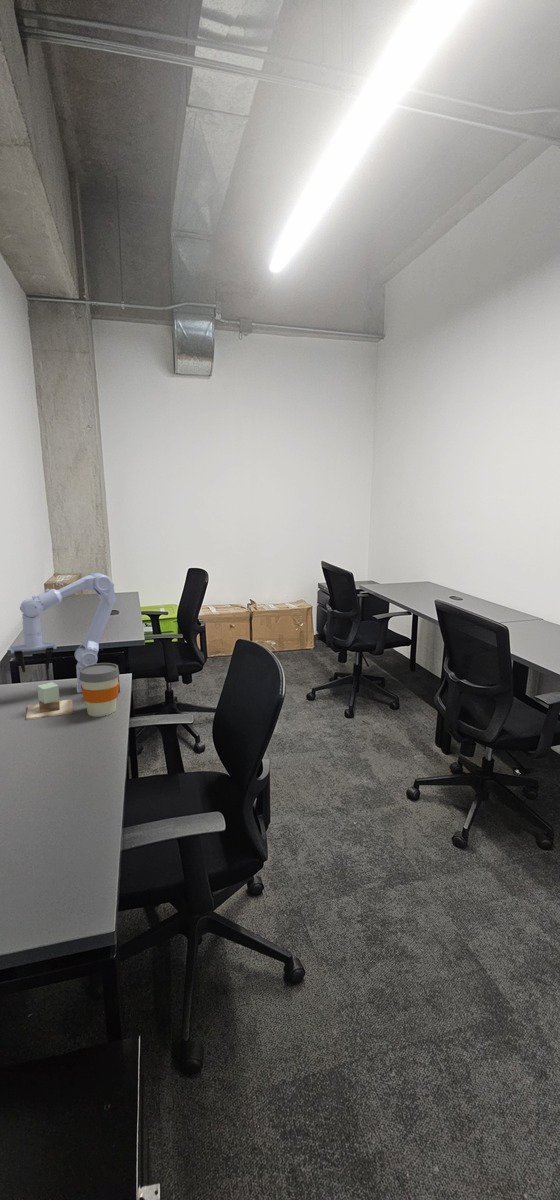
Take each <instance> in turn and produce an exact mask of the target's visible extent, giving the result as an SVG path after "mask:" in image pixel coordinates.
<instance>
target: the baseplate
mask: <svg viewBox="0 0 560 1200" xmlns="http://www.w3.org/2000/svg"><path fill="white" fill-rule="evenodd" d="M38 701H39V703H34V704H28V705H27V710H26V716H25V721H29V720H35V719H43V718H50V717H57V716H62V715H63V716H64V715H69V714H70V715H71V714H73V713H74V709H73V699H72V698H71V699H64V700H57V701H53V702H49V703H45V704H44V703H43V702H41V701H40V700H38Z"/></svg>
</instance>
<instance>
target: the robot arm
mask: <svg viewBox="0 0 560 1200" xmlns="http://www.w3.org/2000/svg"><path fill="white" fill-rule="evenodd" d="M83 590H88V591H95V592H96V594H97V596H98V598H99V599H100V601H99V603H98V606H97V608H96V611H95V614H94V616H93V618H92V621H91V623H90V626H89V628H88V631H87V633H86V635H85V638H84V639H83V640H82V641H81V642H80V643H81V644H80V645H79V646H78V648H77V649H76V650H75V651H74V658H75V660H76V661H77V662H76V663H77V664H76V665H75V668H76V681H77V685H76V693H79V694H81V693H82V690H81V686H82V683H81V680H80V679H79V676H80V669H81V668H83V667H85V666H88V665H92V664H98V663H97V662H98V659H99V658H98V653H99V651H100V650H99V649H100V648H99V646H100V645H99V644H100V641H101V639H102V636H103V634H104V631H105V628H106V626H107V623H108V621H109V619H110V616H111V613H112V611H113V609H114V605H115V603H116V601H117V597H116V592H115V584H114V582H113V581H112V578H110V576H108V575H106V574H103V573H101V572H94V573H91V575H90V574H89V575H84V577H81V578H79V579H78V580H77V579H76V580H75V581H74V582H71V583H70V584H67V585H65V586H63V587H61V588H59V589H55V588H50V589H49V588H46V589H45V590H44V592H42V593H39V594H38V595H32V596H31V598H26V599H24V600H23V601H22V602H21V604H20V606H19V610H20V611H21V613H22V631H23V642H24V644H20V645H14V646H10V647H9V649H10V654H14V658H15V659H16V660H17V662H18V664H19V665H20V668H21V670H22V673H25V672H26V666H25V659H24V657H25V656H24V652H32V651H43V650H45V659H46V670H50V662H51V659H52V656H53V653H54V650H56V649H57V647H58V646H57V642H43V634H42V622H41V617H40V614H41V612H44V611H47V610H48V609H50V608H52V607H55V606H57V605H59V604H61V602H62V600H63V599H64V598H66V597H68V596H71V595H73V594H75V593H78V592H81V591H83Z"/></svg>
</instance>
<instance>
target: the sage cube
mask: <svg viewBox="0 0 560 1200" xmlns="http://www.w3.org/2000/svg"><path fill="white" fill-rule="evenodd" d="M36 687H37V688H36V689H37V698H38V701H41V702H43V703H44V704H45V703H49V702H53V701H57V700H59V701H61V698H60V686H59V685H58V684H57V683H54V681H52V682H47V683H43V684H42V683H41V684H38V685H36Z"/></svg>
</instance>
